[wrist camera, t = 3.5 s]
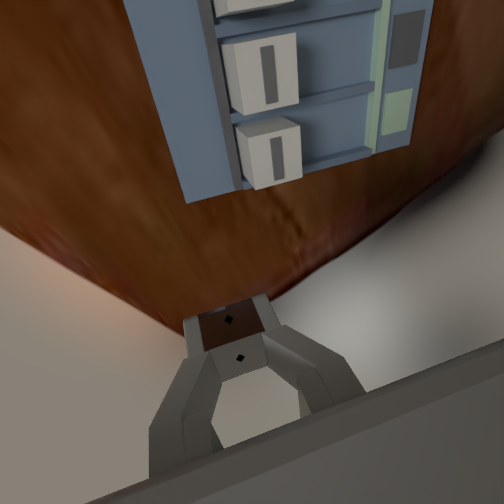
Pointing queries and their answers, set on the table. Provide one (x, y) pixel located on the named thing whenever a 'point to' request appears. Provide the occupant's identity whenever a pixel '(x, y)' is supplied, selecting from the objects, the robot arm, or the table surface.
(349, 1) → the switch bank
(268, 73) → the white slotted cube
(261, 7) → the tab
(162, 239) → the table surface
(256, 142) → the tab
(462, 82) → the table surface
